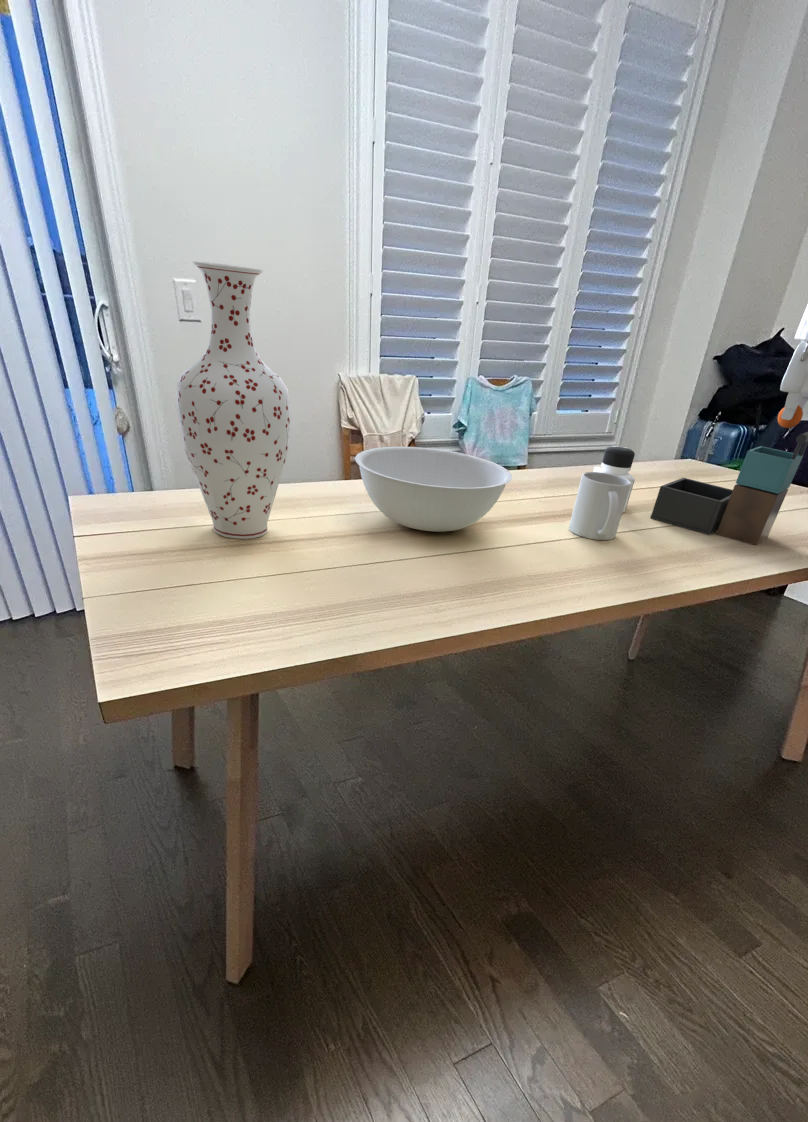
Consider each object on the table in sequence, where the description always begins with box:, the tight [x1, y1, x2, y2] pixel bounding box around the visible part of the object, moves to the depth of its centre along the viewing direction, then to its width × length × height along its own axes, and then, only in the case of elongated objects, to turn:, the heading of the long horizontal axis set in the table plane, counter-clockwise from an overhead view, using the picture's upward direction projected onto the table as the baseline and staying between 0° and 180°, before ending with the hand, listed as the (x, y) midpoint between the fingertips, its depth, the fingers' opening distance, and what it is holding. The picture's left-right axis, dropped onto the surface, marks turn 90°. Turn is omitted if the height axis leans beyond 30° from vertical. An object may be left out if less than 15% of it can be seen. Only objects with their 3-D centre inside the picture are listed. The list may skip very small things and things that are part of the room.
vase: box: [176, 260, 292, 540], centre depth 92 cm, size 16×16×35 cm
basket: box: [650, 477, 733, 536], centre depth 133 cm, size 13×14×7 cm
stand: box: [715, 483, 789, 546], centre depth 127 cm, size 8×9×10 cm
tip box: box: [735, 431, 808, 494], centre depth 121 cm, size 8×9×10 cm
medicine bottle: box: [592, 445, 636, 514], centre depth 134 cm, size 7×7×12 cm
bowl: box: [354, 446, 513, 533], centre depth 112 cm, size 27×27×10 cm
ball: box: [777, 405, 804, 429], centre depth 117 cm, size 4×4×4 cm
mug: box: [568, 471, 631, 541], centre depth 117 cm, size 11×10×10 cm
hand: (789, 418), depth 117 cm, fingers closed on ball, 4 cm apart
